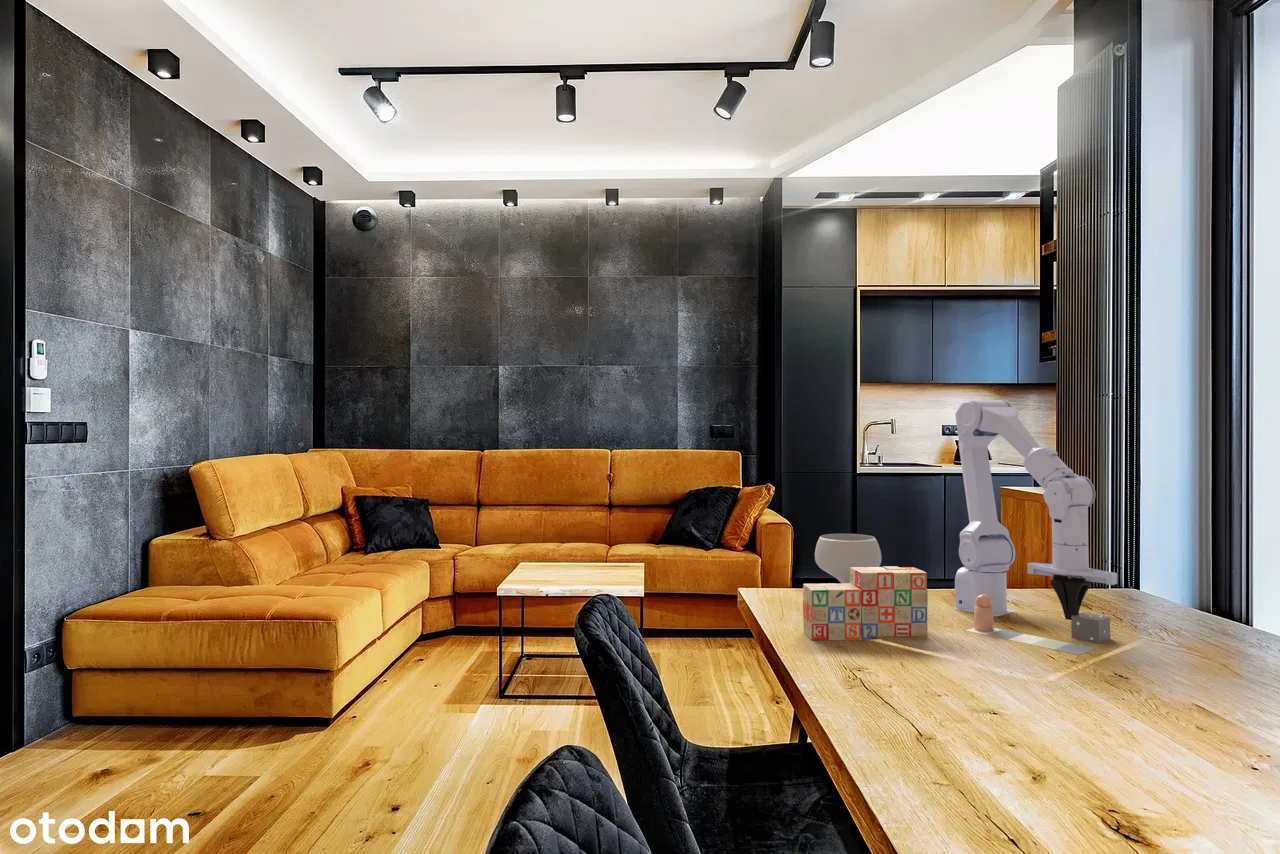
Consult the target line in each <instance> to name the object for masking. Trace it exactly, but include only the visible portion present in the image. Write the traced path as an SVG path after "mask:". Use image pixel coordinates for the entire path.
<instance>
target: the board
mask: <svg viewBox="0 0 1280 854" xmlns="http://www.w3.org/2000/svg"><path fill="white" fill-rule="evenodd" d="M965 632H969V633H970V632H971V633H973V634H978V635H985V636H989V637H994V638H998V639H1002V640H1003V639H1004V640H1007V641H1013V642H1017V643H1021V644H1022V643H1023V644H1027V645H1032V646H1035V647H1040V648H1046V649H1050V650H1053V651H1054V650H1055V651H1061V652H1065V653H1068V654H1074V655H1078V656H1080V655H1083V654H1086V653H1088V652H1091V651H1094V650H1096V649H1097V648H1096V647H1091V646H1087V645H1083V644H1077V643H1073V642H1072V643H1071V642H1067V641H1062V640H1058V639H1057V640H1056V639H1053V638H1046V637H1042V636H1038V635H1032V634H1026V633H1023V632H1017V631H1011V630H1007V629H1003V628H1002V629H1001V628H997V627H994V631H993V632H980V631H977V630H975V627H971V628H969V629H966V630H965Z"/></svg>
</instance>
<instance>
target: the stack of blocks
mask: <svg viewBox="0 0 1280 854" xmlns="http://www.w3.org/2000/svg"><path fill="white" fill-rule="evenodd" d="M927 573H928V572H926V571H924V570H922V569H919V568H916V567H915V566H914V567H913V566H912V567H909V566H906V567H904V566H902V567H899V566H896V565H895V566H894V565H893V566H891V565H889V566H887V565H886V566H885V565H884V566H879V567H850V583H841V582H840V583H831V582H829V583H825V582H824V583H823V582H822V583H803V584H802V591H803V592H802V595H803V597H802V615H803V621H802V622H803V623H802V625H803V632H804V634H805V635H806V636H807V637H808V638H809V639H810V640H811V641H864V640H865V641H867V640H869V641H872V640H873V641H874V640H875V641H876V640H879V638H878V637H926V636H928V635H929V634H928V603H929V602H928V601H929V598H928V596H929V593H928V592H929V591H928V575H927Z"/></svg>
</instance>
